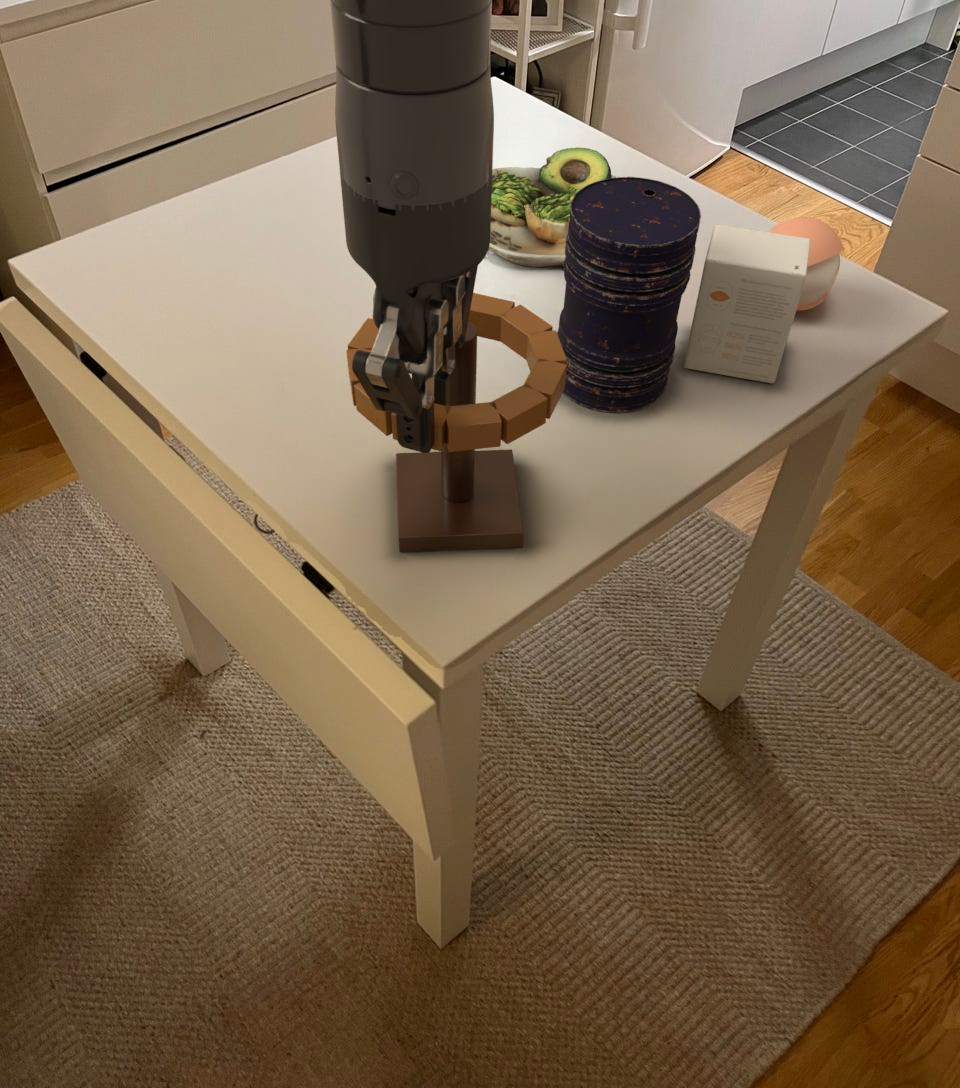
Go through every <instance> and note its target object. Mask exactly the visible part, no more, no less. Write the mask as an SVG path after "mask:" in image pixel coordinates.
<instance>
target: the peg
mask: <svg viewBox="0 0 960 1088" xmlns="http://www.w3.org/2000/svg"><path fill="white" fill-rule="evenodd" d="M477 361H478V336H477V329H476V327H475V326H474V325H473V324H472V323H470V322H468V325H467V331H466V340H465V343H464V344H463V346H462V348H461V349H460V348H456V347H455V362H456V363H455V368H454V369H453V371H452V373H451V374H450V406H457V405H467V404H476V403H477V367H478V366H477V365H478V364H477ZM395 466H396V467H395V469H396V470H395V471H396V499H397V501H396V502H397V505H396V506H397V532H398V533H397V535H398V552H400V553H406V552H407V553H408V552H409V553H410V552H434V551H459V550H460V551H461V550H481V549H482V550H484V549H512V548H523V547H524V533H525V532H524V526H523V519H522V518H523V517H522V511H521V505H520V504H521V503H520V497H519V496H520V495H519V490H518V483H517V475H516V467H515V461H514V452H513V449H485V450H484V449H483V450H482V449H479V450H476V449H473V450H464V451H455V452H449V451H448V447H447V443H446V445H445V446H444V448H443V450H442V451H430V452H428V453H422V452H419V451H418V452H396V453H395Z"/></svg>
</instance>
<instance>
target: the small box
mask: <svg viewBox="0 0 960 1088" xmlns="http://www.w3.org/2000/svg"><path fill="white" fill-rule="evenodd" d="M809 249H810V239H809V238H802V237H795V236H789V235H782V234H776V233H769V231H762V230H755V229H749V228H742V227H737V226H729V225H723V224H719V223H717V224H715V225H714V226H713V229H712V233H711V237H710V240H709V244H708V247H707V251H706V254H705V255H706V256H705V260H704V264H703V269H702V273H701V278H700V284H699V288H698V293H697V297H696V301H695V302H696V303H695V308H694V311H693V317H692V321H691V327H690V332H689V335H688V341H687V345H686V351H685V356H684V361H683V368H684V369H688V370H692V371H693V370H694V371H700V372H705V373H710V374H716V375H722V376H728V377H733V378H739V379H745V380H749V381H750V380H751V381H754V382H755V381H756V382H761V383H768V384H774V383H775V382H776V380H777V377H778V372H779V370H780V366H781V364H782V363H781V362H782V359H783V355H784V353H785V349H786V346H787V344H788V343H787V342H788V339H789V336H790V332H791V329H792V325H793V323H794V320H795V316H796V313H797V311H796V310H797V307H798V303H799V300H800V297H801V293H802V290H803V287H804V283H805V280H806V274H807V265H808V257H809Z"/></svg>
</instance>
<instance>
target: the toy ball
mask: <svg viewBox="0 0 960 1088" xmlns="http://www.w3.org/2000/svg"><path fill="white" fill-rule="evenodd" d="M768 232H769V233H776V234H782V235H789V236H795V237H802V238H809V239H810V249H809V257H808V265H807V274H806V280H805V283H804V287H803V290H802V293H801V297H800V300H799V303H798V307H797V310H796V312H801V311H806V310H811V309H813V308H815V307H817V306H819V305H820V304H822V302H824V301H825V299H826V298H827V297H828V295H829V293H830V292H831V290H832V287H833V286H834V284H835V283H836V280H837V278H838V276H839V272H840V266H841V255H840V254H841V253H842V252H843V251H844V250H845V247H844V244H843V242H842V239H841V237H840V236H839V234H838V233H837V232H836V231H835V229H834V228H833V227H832V226H830V224H828V223H826V222H824V221H823V220H821V219H818V218H814V217H808V216H800V217H799V216H798V217H793V218H789V219H786V220H784V221H782V222H780V223H778V224H776V225H775V226H774V227H772V228H771V229H770V230H769V231H768Z"/></svg>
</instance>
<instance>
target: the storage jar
mask: <svg viewBox="0 0 960 1088" xmlns="http://www.w3.org/2000/svg"><path fill="white" fill-rule="evenodd" d="M701 220H702V212H701V209H700V206H699V204H698V203H697V202H696V200H695V199H693V198H692V197H691V195H689V194H688V193H686V192H685V191H684V190H682V189H680V188H678V187H677V186H675V185H671V184H669V183H668V182H667V183H666V182H663V181H660V180H657V179H652V178H647V177H646V178H645V177H637V176H616V178H609V179H604V180H600V181H597V182H593V183H591V184H589V185H587V186H585V187H583V188H582V189H580V190H579V191H578V192H577V193H576V194H575V196H574V197H573V199H572V201H571V206H570V221H569V227H568V233H567V236H566V246H565V256H566V257H565V260H564V266H562V267H563V276H564V281H565V290H564V299H563V307H562V310H561V311H560V314H559V320H558V329H557V331H556V332H557V334H558V337H559V340H560V342H561V345H562V348H563V350H564V353H565V356H566V358H567V369H566V379H565V388H564V391H563V393H562V394H563V395H564V396H565V397H566V398H568V399H570V400H571V401H572V402H574V403H575V404H578V405H579V406H582V407H583V408H586V409H590V410H594V411H596V412H602V413H612V414H619V413H620V414H621V413H630V412H631V413H632V412H635V411H639V410H642V409H646V408H647V407H649V406H651V405H652V404H655V402H657V401H658V400H659V399H660V398H661V397H662V396H663V395H664V393H665V391H666V388H667V383H668V378H669V376H668V375H669V373H670V370H671V369H670V368H671V366H672V364H673V361H674V356H675V351H676V340H677V335H678V330H679V327H678V324H679V323H678V316H679V311H680V306H681V301H682V297H683V294H684V293H685V292H686V290H687V287H688V284H689V282H690V280H691V270H692V268H693V264H694V259H695V254H696V244H697V238H698V232H699V229H700V224H701Z"/></svg>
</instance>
